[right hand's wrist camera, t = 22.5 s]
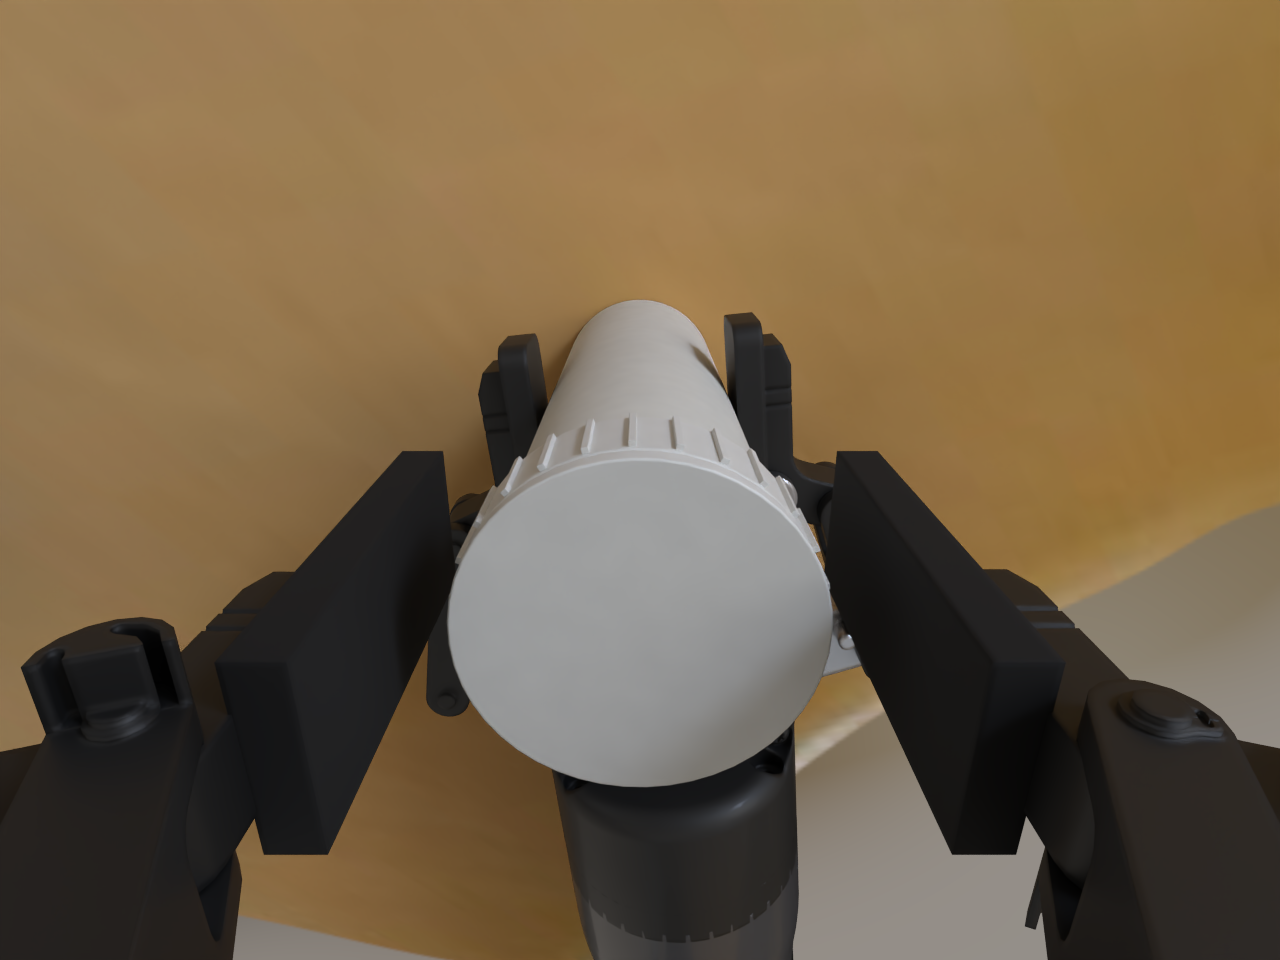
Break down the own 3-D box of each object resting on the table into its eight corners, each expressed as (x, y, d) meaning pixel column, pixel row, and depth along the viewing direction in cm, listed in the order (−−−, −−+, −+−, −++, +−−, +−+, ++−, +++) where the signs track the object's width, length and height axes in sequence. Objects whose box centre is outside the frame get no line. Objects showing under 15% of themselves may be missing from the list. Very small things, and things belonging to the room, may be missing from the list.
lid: (447, 416, 11) (411, 459, 9) (818, 403, 11) (853, 444, 9) (489, 715, 13) (466, 796, 11) (802, 706, 13) (827, 786, 11)
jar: (591, 280, 24) (524, 410, 10) (731, 325, 25) (851, 508, 11) (552, 416, 26) (448, 690, 12) (684, 455, 26) (734, 762, 12)
